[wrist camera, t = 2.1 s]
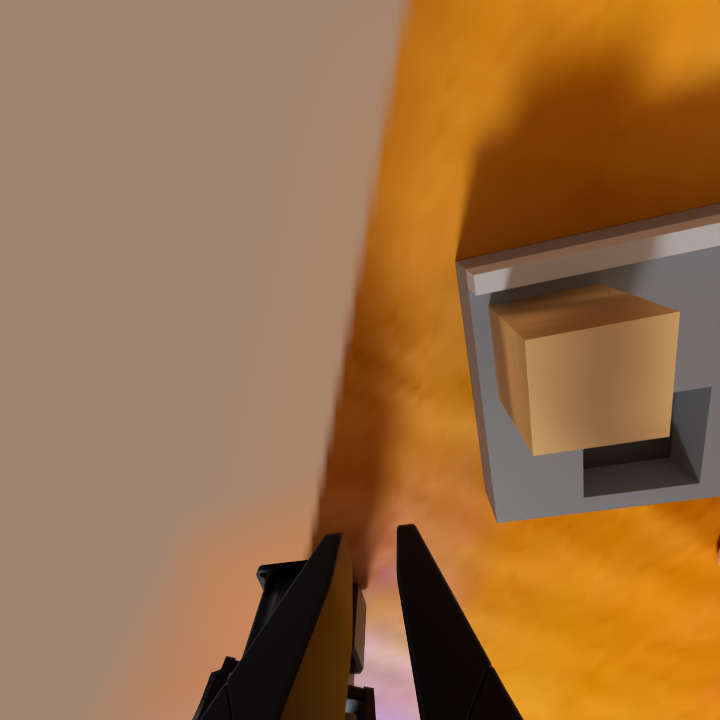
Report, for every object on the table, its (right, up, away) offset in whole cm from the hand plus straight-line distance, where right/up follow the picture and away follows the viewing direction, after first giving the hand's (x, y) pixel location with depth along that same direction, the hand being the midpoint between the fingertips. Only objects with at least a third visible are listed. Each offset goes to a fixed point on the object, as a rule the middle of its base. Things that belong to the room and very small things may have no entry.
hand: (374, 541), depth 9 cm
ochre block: (+8, +5, +8) cm, 12 cm away
